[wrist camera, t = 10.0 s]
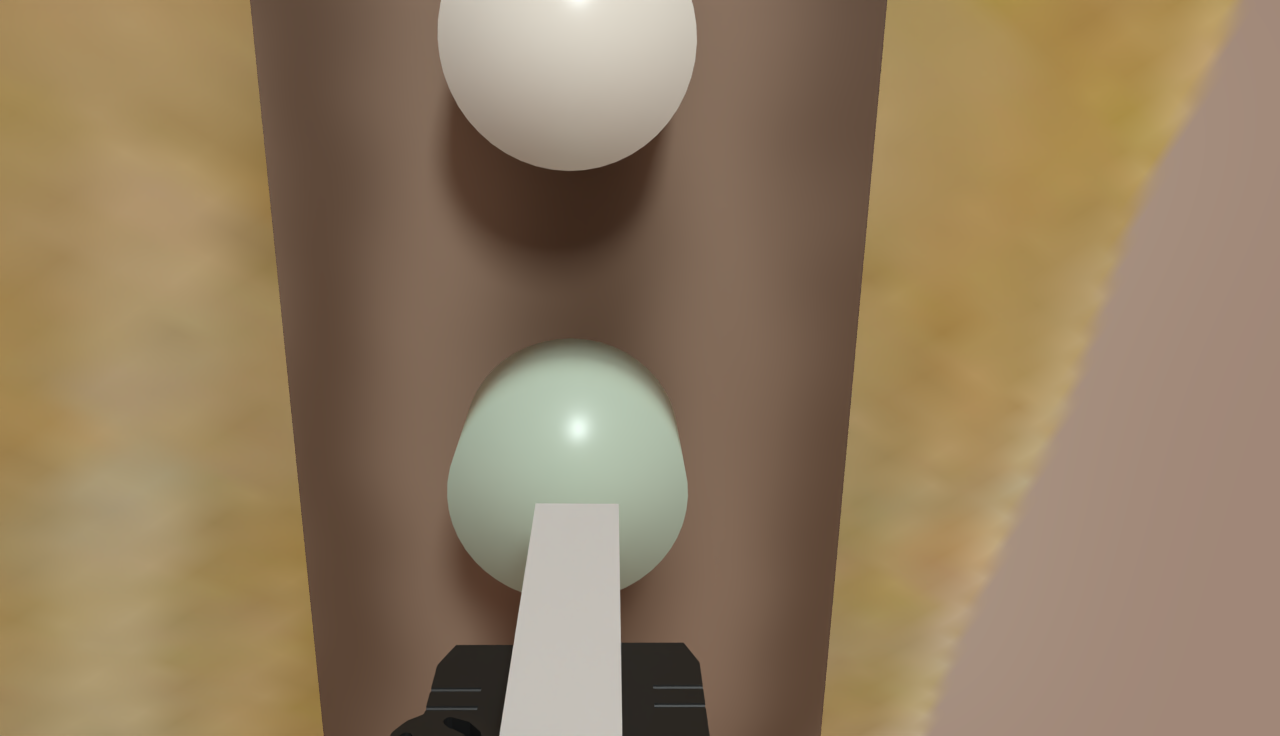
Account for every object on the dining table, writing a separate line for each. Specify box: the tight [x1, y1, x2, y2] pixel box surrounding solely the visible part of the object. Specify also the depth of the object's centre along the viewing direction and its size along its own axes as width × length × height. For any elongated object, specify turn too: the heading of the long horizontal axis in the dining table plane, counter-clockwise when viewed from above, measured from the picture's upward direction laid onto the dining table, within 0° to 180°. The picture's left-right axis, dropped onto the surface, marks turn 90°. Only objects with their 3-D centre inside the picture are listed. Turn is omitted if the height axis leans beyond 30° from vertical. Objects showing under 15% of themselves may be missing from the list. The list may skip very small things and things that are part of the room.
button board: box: [250, 0, 887, 736], centre depth 27 cm, size 14×26×3 cm, turn 179°
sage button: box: [447, 338, 688, 592], centre depth 23 cm, size 5×5×3 cm
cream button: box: [438, 0, 697, 171], centre depth 21 cm, size 5×5×3 cm
